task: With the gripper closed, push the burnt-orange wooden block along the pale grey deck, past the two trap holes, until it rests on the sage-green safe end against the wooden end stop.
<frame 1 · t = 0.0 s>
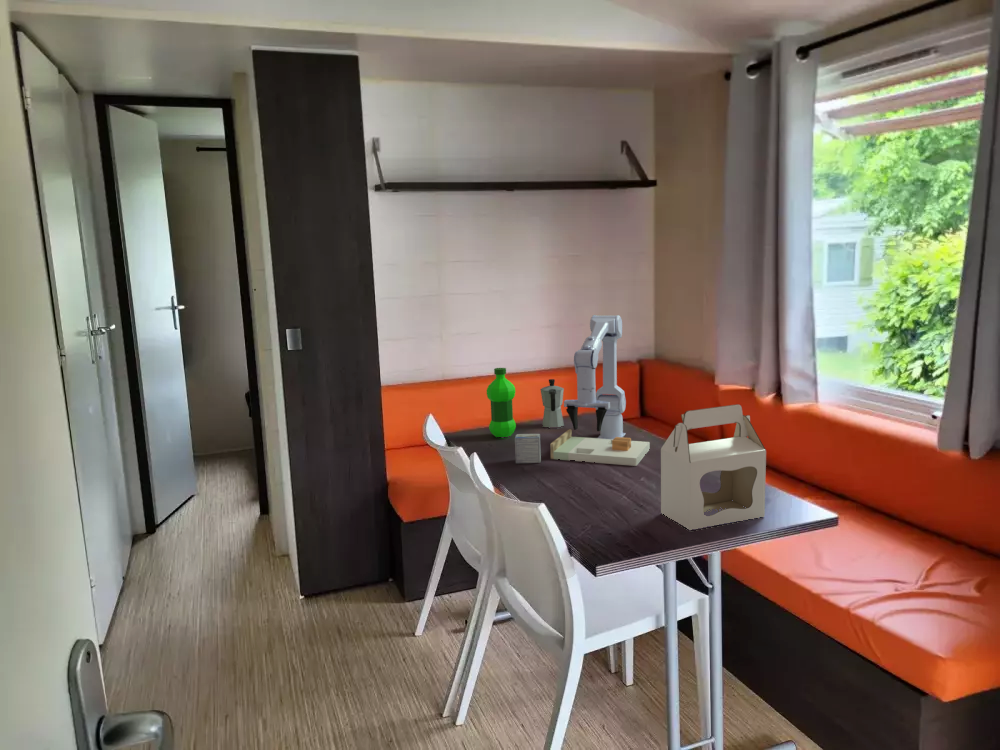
hand: (587, 429, 239), 10 cm above the table, tool pointing down, fingers open, 7 cm apart
medicine box: (528, 462, 242), on the table
block: (621, 448, 244), point 2 cm above the table, touching deck
plastic bottle: (502, 437, 273), on the table
coffee maker: (553, 427, 285), on the table
deck: (600, 454, 247), on the table
gable box: (712, 516, 190), on the table
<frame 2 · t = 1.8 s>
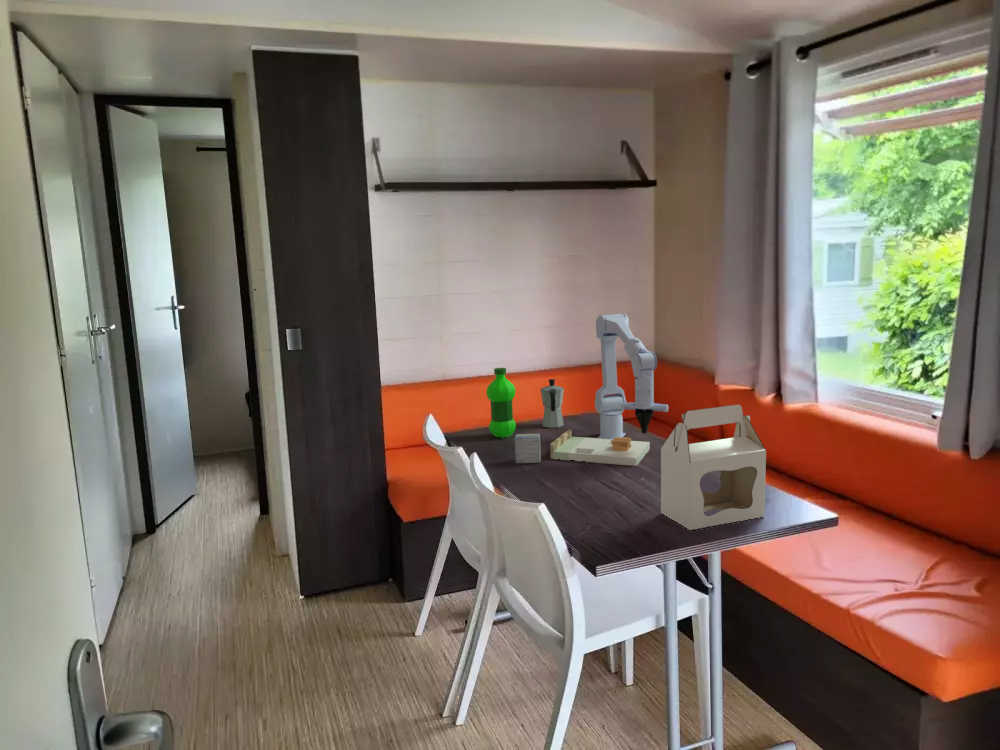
hand: (644, 432, 240), 8 cm above the table, tool pointing down, fingers closed
nothing on the table moved.
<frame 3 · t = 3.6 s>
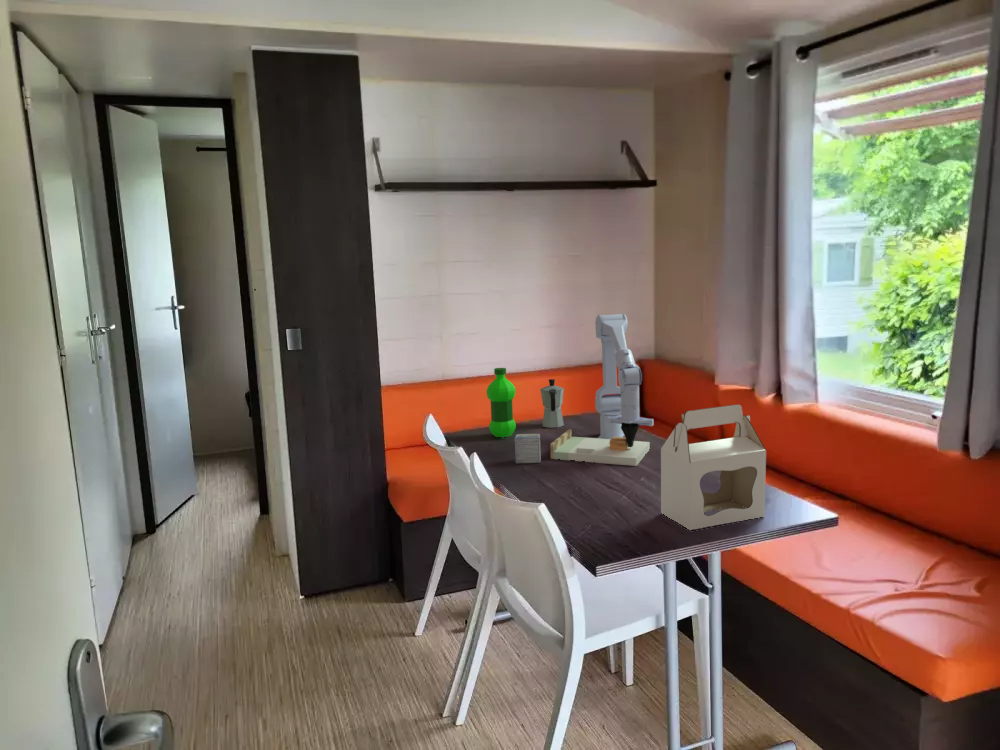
hand: (630, 446, 242), 3 cm above the table, tool pointing down, fingers closed
block: (619, 448, 244), point 3 cm above the table, touching gripper
everything else where it was.
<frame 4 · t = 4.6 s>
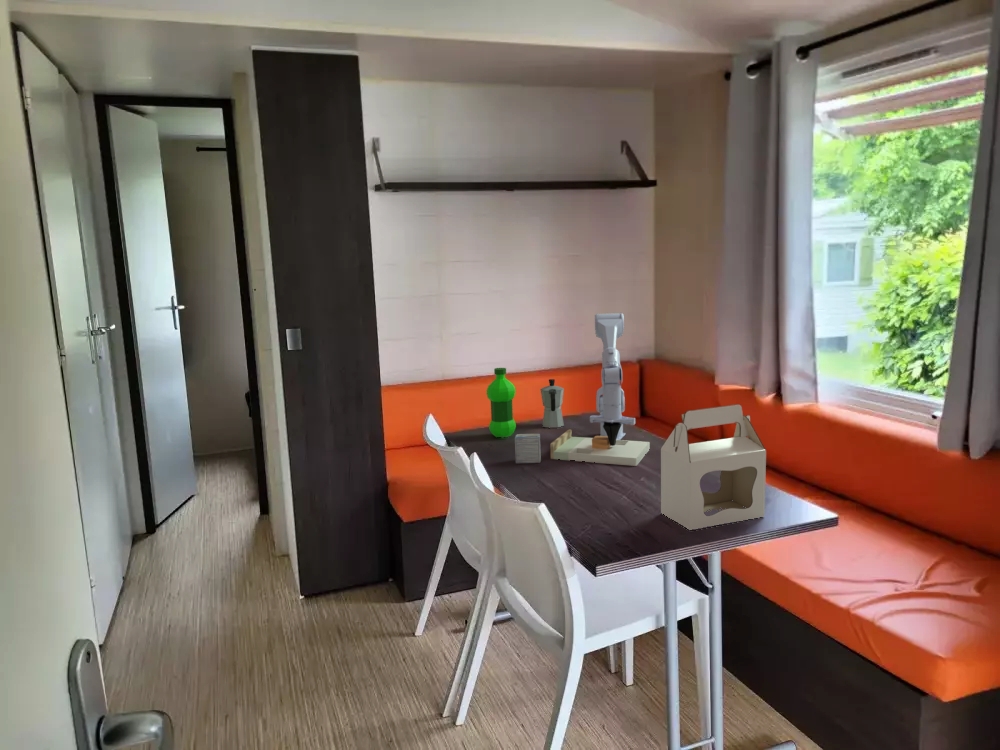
hand: (612, 444, 245), 3 cm above the table, tool pointing down, fingers closed
block: (601, 446, 246), point 2 cm above the table, touching deck, gripper
everything else where it was.
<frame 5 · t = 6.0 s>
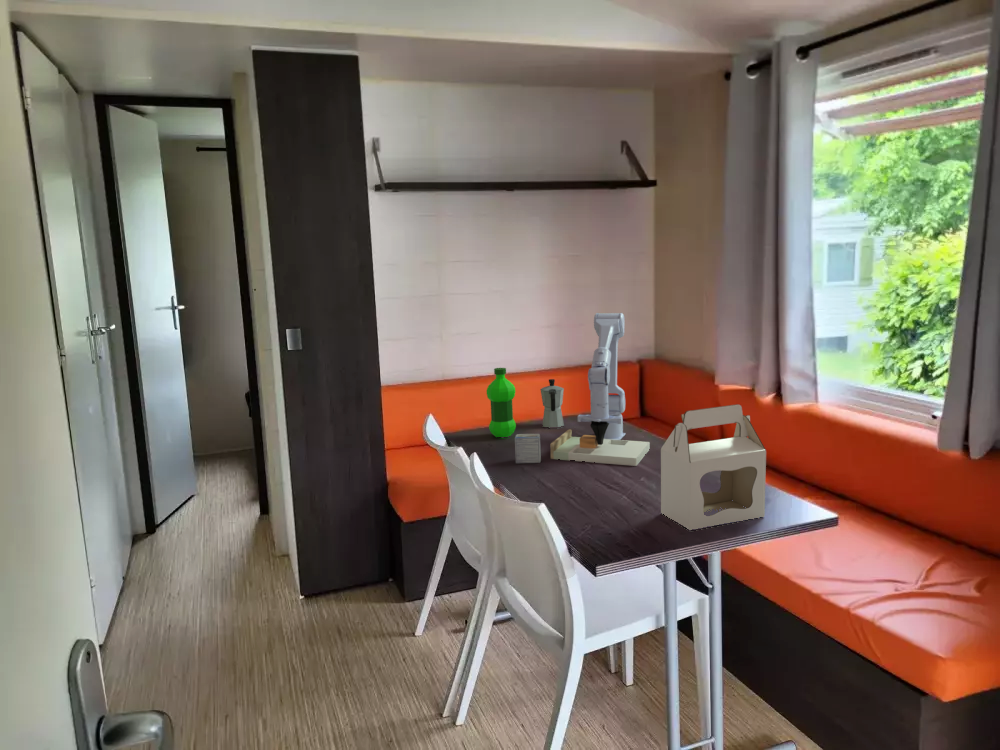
hand: (600, 443, 246), 3 cm above the table, tool pointing down, fingers closed
block: (589, 445, 248), point 3 cm above the table, touching deck, gripper
everything else where it was.
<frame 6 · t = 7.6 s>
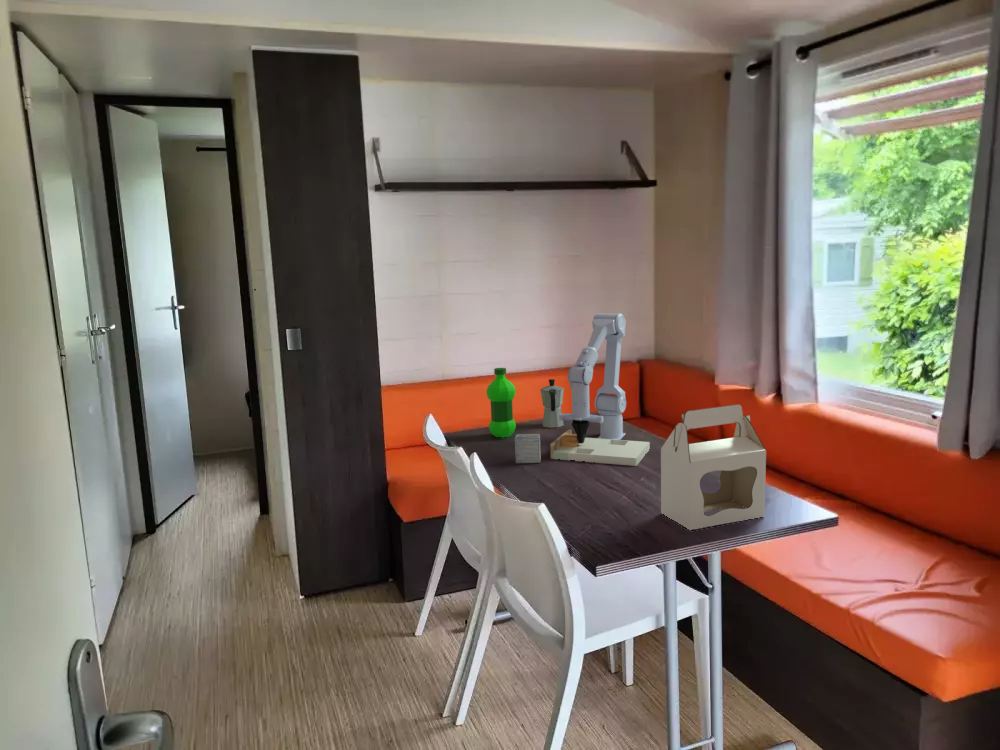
hand: (581, 442, 249), 3 cm above the table, tool pointing down, fingers closed
block: (570, 444, 250), point 2 cm above the table, touching deck, gripper
everything else where it was.
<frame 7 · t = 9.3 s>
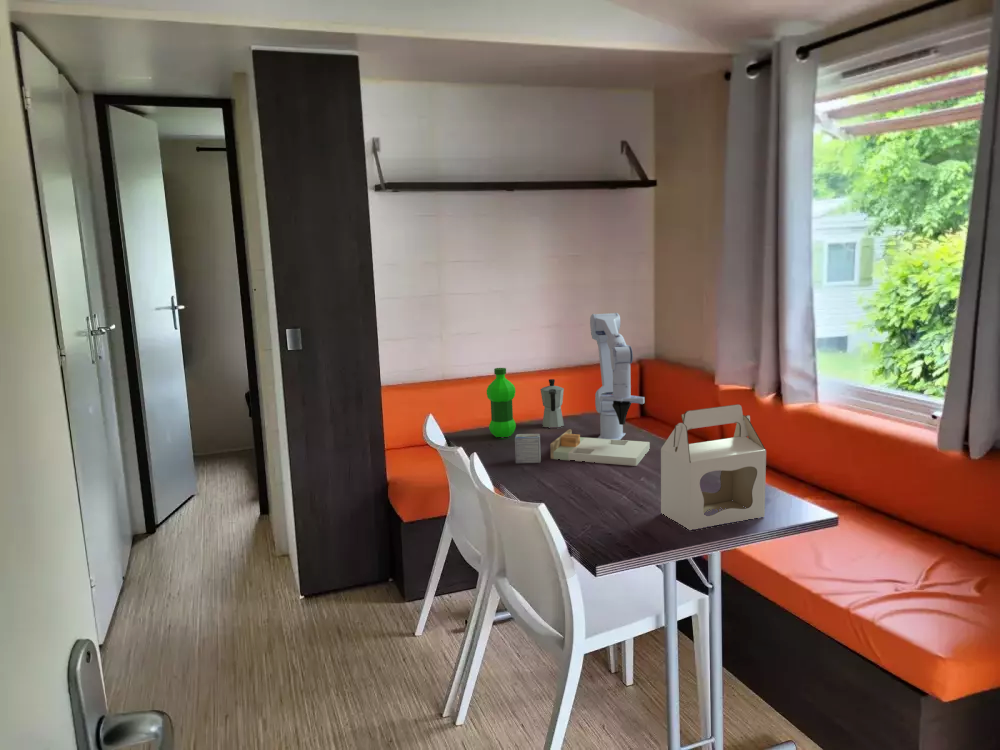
hand: (622, 423, 247), 9 cm above the table, tool pointing down, fingers closed
block: (570, 444, 250), point 2 cm above the table, touching deck
everything else where it was.
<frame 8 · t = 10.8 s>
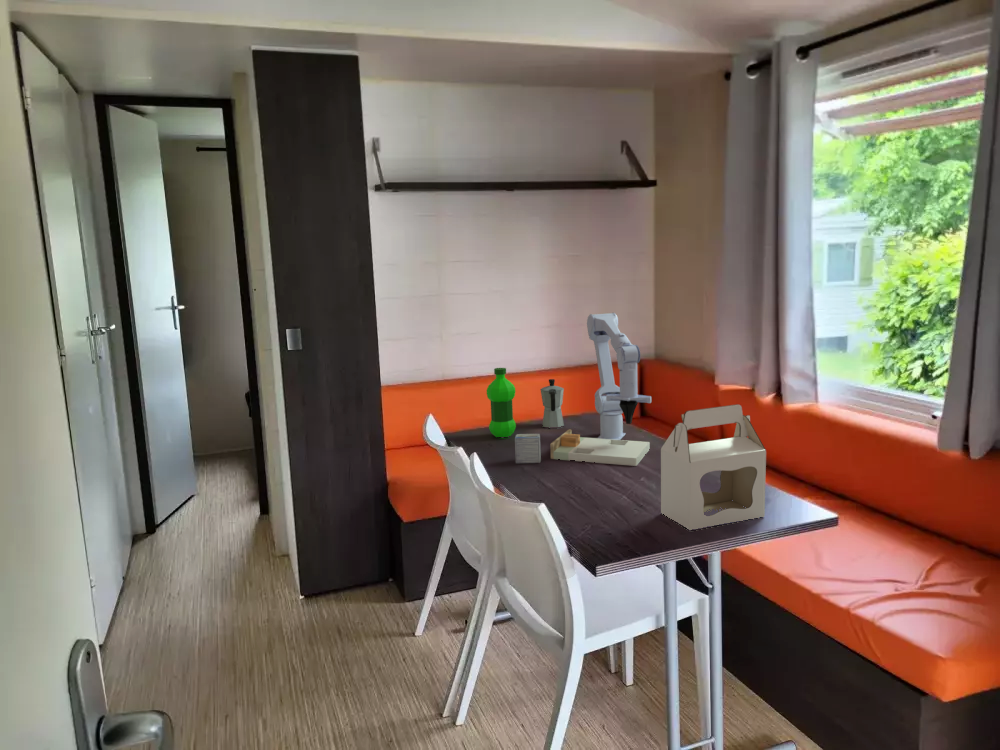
hand: (628, 423, 247), 9 cm above the table, tool pointing down, fingers closed
nothing on the table moved.
at the end: block 0.5 cm from the target spot on the deck, point 2.5 cm above the deck's base; block tilted 0° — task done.
